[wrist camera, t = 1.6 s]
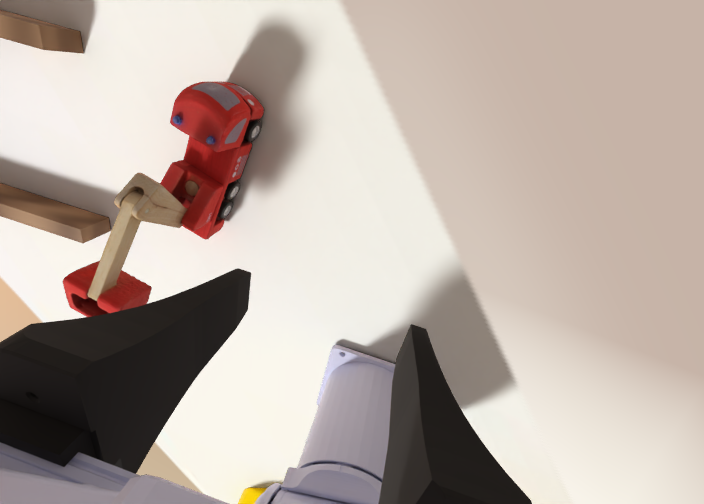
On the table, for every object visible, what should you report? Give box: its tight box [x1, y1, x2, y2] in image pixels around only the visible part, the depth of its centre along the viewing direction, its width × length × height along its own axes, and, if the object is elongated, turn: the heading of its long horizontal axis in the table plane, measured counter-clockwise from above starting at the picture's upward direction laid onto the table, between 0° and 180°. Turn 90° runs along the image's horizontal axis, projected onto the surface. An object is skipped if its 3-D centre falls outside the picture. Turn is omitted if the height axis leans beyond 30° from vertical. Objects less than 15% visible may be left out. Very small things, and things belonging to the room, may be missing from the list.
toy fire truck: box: [63, 82, 264, 317], centre depth 19 cm, size 3×14×10 cm, turn 151°
